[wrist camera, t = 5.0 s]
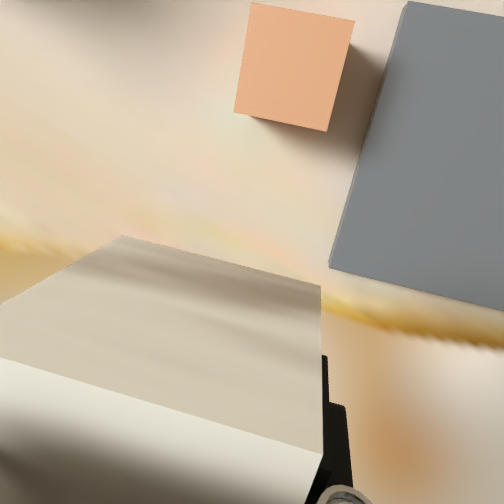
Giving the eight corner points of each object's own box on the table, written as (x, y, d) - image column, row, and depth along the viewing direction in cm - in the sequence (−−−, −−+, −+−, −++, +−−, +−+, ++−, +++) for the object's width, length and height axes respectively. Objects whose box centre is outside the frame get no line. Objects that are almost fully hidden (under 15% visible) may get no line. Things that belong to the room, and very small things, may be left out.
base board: (402, 9, 22) (408, 0, 20) (705, 61, 20) (733, 56, 19) (328, 260, 28) (328, 268, 26) (556, 316, 26) (569, 327, 25)
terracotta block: (264, 27, 23) (251, 2, 19) (347, 42, 23) (355, 20, 18) (249, 115, 25) (233, 112, 21) (324, 131, 25) (326, 131, 20)
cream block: (122, 235, 11) (-61, 338, 6) (320, 285, 11) (322, 454, 5) (112, 389, 14) (-27, 568, 8) (274, 438, 13) (242, 666, 8)
